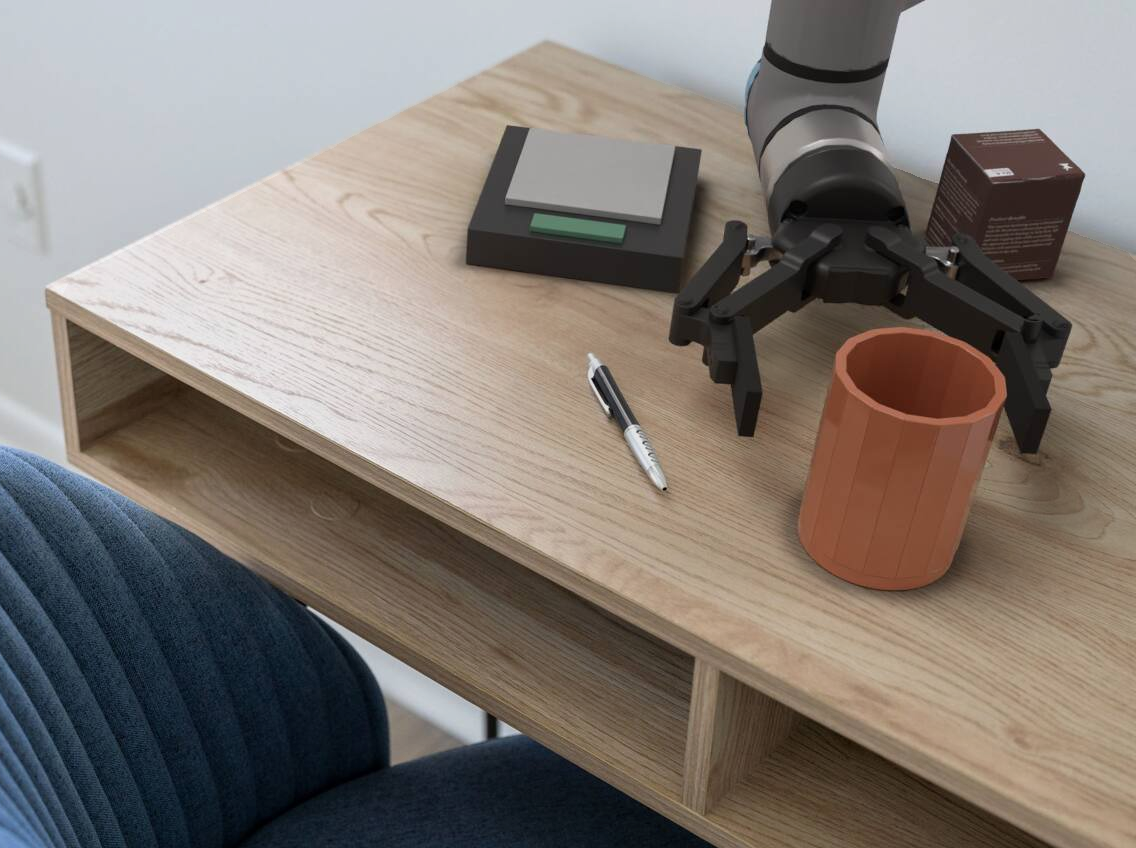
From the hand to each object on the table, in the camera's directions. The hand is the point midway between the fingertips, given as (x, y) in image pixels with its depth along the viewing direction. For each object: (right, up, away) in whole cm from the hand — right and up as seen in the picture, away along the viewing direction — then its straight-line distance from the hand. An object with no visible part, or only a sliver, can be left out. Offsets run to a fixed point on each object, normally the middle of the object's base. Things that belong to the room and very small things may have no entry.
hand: (892, 423), depth 77 cm
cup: (0, -6, +3) cm, 6 cm away
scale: (-12, +14, +26) cm, 32 cm away
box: (+13, +11, +24) cm, 29 cm away
